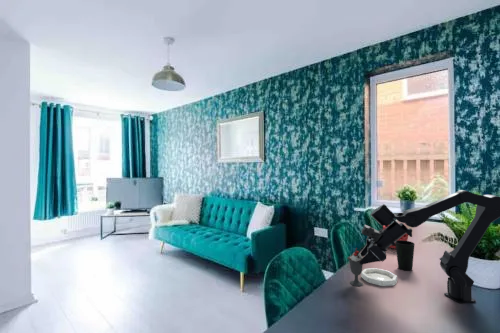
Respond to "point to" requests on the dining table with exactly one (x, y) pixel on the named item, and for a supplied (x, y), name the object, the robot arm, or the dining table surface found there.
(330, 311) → the dining table surface
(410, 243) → the cup
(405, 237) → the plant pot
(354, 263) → the sundae
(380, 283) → the dish
